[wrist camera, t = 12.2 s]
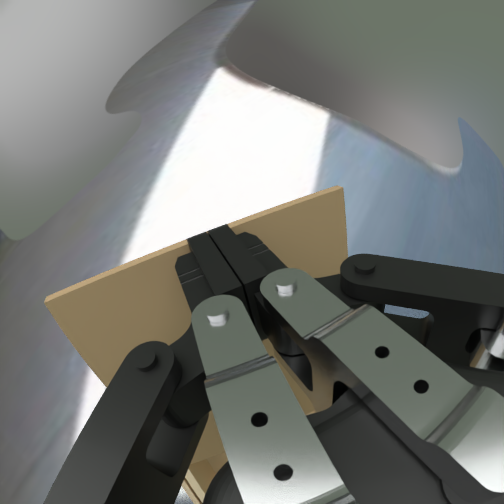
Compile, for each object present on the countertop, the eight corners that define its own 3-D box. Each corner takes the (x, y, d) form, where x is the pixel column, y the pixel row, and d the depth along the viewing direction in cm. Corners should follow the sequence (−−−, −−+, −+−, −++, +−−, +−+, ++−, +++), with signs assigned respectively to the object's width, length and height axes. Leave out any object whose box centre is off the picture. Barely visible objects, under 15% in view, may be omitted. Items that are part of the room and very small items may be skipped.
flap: (186, 465, 16) (44, 302, 9) (185, 461, 17) (46, 296, 9) (346, 391, 19) (343, 187, 12) (343, 388, 20) (337, 185, 12)
